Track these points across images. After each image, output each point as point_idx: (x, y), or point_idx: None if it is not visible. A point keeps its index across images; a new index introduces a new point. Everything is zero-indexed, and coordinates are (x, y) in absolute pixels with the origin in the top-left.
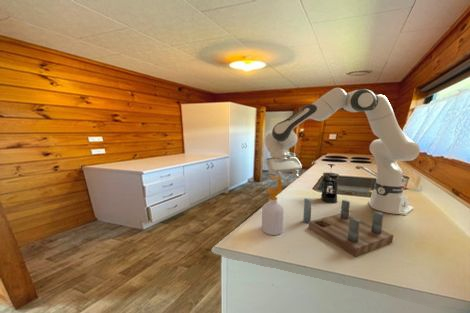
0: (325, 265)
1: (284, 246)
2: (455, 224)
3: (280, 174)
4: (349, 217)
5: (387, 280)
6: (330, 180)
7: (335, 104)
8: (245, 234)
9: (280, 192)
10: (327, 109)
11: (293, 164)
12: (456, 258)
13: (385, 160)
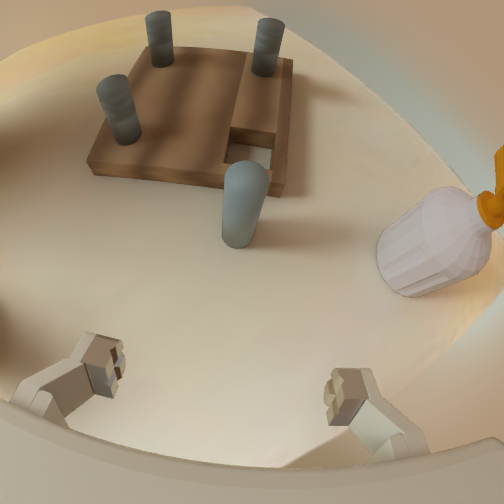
0: (370, 98)
1: (415, 179)
2: None
3: (398, 411)
4: (109, 129)
5: (301, 41)
6: None
7: None
8: (475, 283)
9: (494, 157)
10: None
11: (7, 492)
12: (131, 19)
13: None
